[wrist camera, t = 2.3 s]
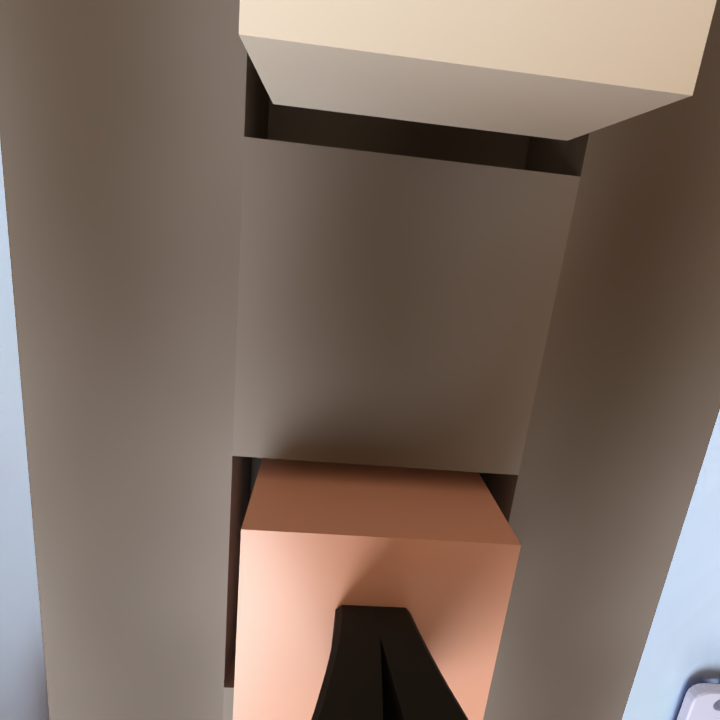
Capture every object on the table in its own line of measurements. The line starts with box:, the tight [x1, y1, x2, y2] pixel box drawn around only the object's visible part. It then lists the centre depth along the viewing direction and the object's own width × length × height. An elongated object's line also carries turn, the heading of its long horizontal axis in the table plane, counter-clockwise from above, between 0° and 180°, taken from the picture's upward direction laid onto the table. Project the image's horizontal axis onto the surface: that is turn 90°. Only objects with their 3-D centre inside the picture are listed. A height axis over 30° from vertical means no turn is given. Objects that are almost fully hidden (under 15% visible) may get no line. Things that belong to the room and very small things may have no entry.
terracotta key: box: [233, 458, 521, 720], centre depth 11 cm, size 5×5×3 cm
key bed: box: [0, 0, 720, 720], centre depth 11 cm, size 14×22×4 cm, turn 174°
